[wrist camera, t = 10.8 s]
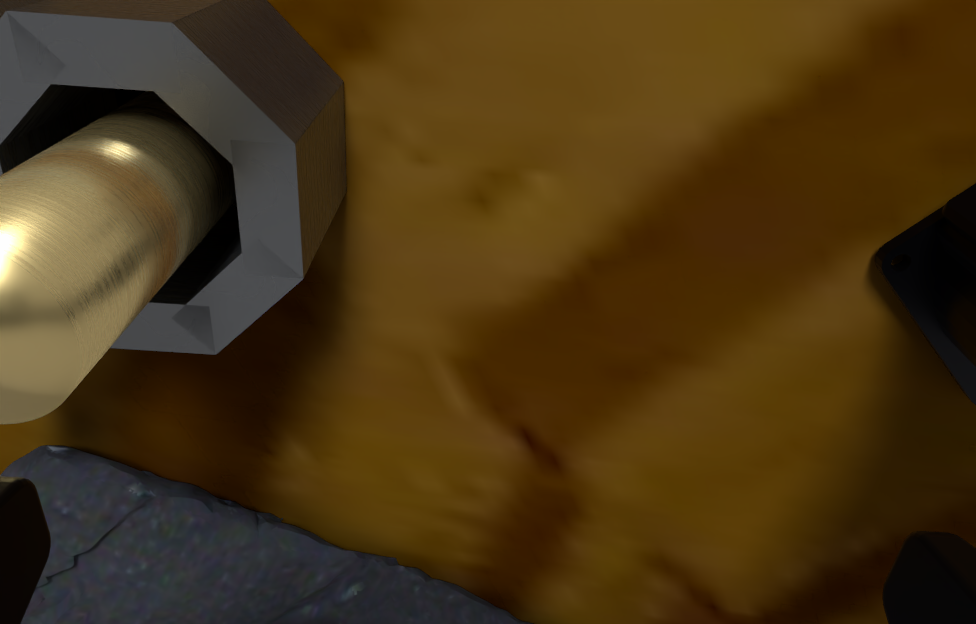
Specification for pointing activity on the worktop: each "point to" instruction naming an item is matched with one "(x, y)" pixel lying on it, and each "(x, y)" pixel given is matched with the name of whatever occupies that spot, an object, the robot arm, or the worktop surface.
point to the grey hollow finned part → (214, 115)
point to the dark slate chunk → (207, 559)
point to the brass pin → (96, 243)
